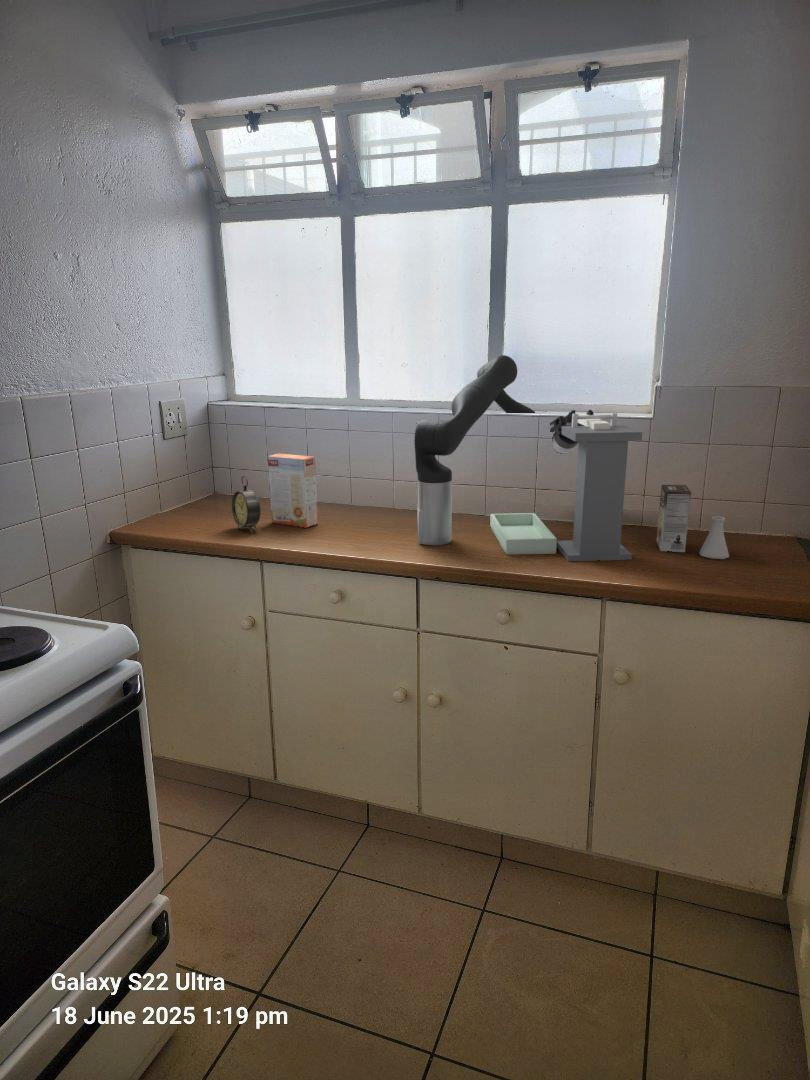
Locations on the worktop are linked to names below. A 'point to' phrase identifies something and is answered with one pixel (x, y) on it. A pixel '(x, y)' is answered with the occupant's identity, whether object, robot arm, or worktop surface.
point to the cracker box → (293, 489)
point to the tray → (522, 534)
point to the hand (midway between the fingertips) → (582, 413)
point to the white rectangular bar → (594, 423)
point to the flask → (715, 541)
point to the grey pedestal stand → (598, 490)
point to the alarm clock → (245, 508)
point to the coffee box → (673, 517)
